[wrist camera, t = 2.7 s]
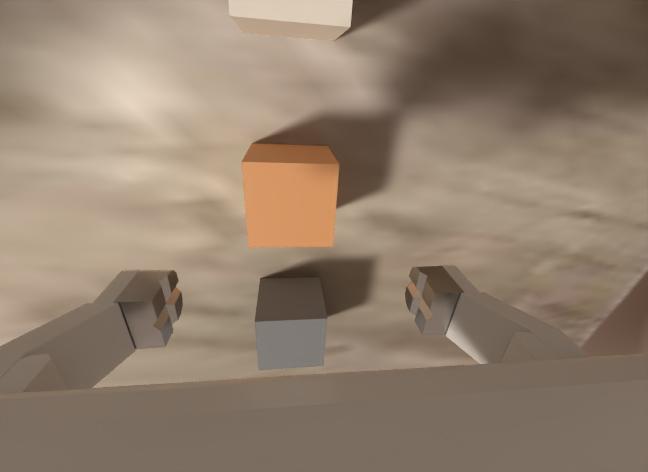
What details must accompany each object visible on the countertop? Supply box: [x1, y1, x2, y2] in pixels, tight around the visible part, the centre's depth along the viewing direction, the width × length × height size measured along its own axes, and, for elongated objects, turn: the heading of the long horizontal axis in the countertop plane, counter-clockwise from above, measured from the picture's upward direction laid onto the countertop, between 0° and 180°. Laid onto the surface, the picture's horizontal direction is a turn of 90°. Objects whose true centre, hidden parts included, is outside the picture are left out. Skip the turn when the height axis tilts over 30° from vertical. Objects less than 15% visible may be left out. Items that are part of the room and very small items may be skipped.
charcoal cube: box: [255, 277, 327, 370], centre depth 23 cm, size 5×5×5 cm
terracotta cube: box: [242, 143, 340, 247], centre depth 18 cm, size 5×5×5 cm
